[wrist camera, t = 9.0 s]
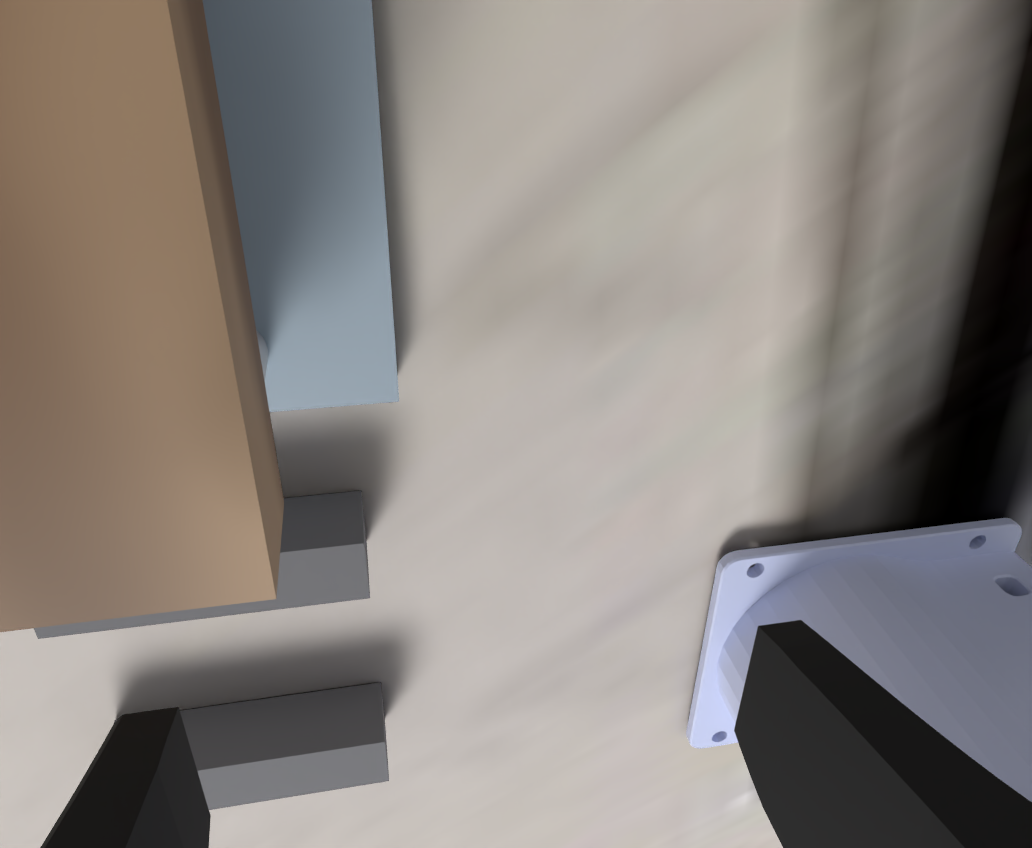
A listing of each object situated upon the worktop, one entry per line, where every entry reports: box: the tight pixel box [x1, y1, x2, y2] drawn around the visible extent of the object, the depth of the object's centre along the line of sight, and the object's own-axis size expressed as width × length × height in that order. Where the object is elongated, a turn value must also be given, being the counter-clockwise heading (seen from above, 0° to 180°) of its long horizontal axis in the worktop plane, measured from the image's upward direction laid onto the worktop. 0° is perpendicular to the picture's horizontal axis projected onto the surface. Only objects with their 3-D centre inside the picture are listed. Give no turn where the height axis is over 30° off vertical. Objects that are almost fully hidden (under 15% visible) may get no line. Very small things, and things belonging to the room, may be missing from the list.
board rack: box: [34, 491, 389, 810], centre depth 20 cm, size 7×8×2 cm
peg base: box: [203, 0, 399, 412], centre depth 13 cm, size 9×10×4 cm
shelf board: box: [0, 0, 284, 632], centre depth 10 cm, size 4×10×2 cm, turn 179°
